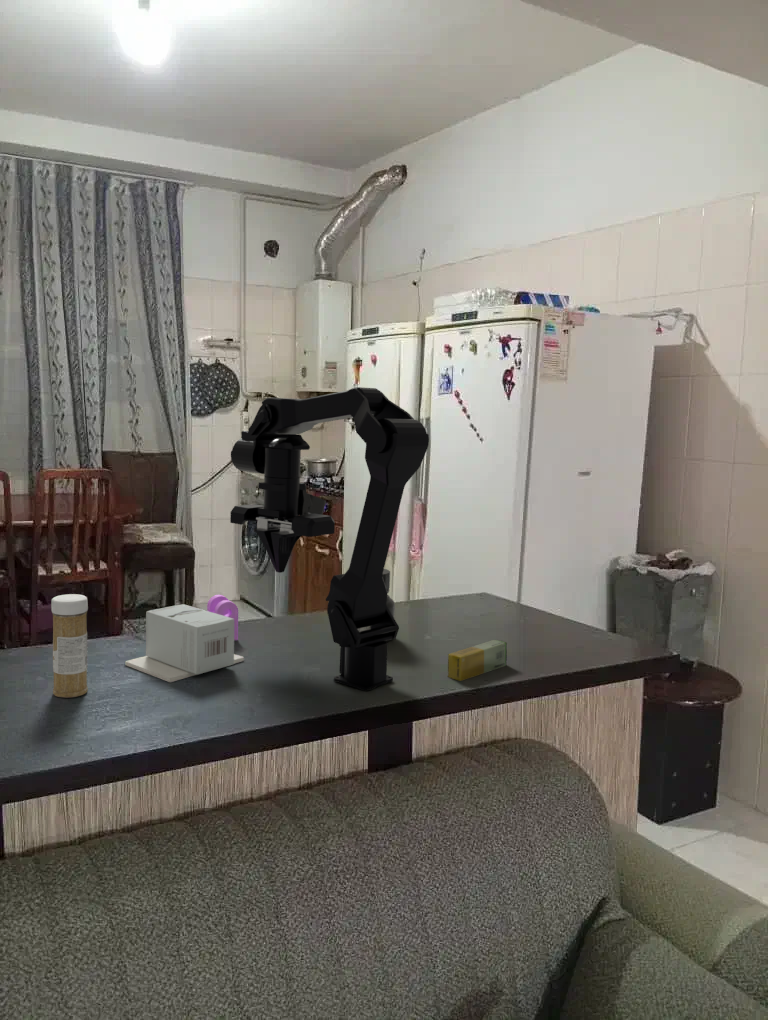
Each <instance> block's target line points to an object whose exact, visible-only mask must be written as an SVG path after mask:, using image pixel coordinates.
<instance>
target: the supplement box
mask: <svg viewBox="0 0 768 1020" xmlns="http://www.w3.org/2000/svg"><path fill="white" fill-rule="evenodd" d="M145 621H146V622H145V629H146V630H145V656H147V657H150V658H153V659H156V660H158V661H161V662H164V663H166V664H169V665H172V666H174V667H177V668H180V669H182V670H185V671H188V672H191V673H193V674H196V675H195V676H198V675H201V674H203V673H204V674H205V673H208V672H211V671H215V670H218V669H222V668H225V667H229V666H231V665H232V666H234V654H235V640H234V619H233V618H230V617H226V616H223V615H219V614H216V613H212V612H209V611H207V610H205V609H202V608H198V607H195V606H191V605H187V604H185V603H183V604H175V605H172V606H165V607H162V608H156V609H155V608H154V609H150V610H147V611H146V614H145Z"/></svg>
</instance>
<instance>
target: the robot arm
mask: <svg viewBox="0 0 768 1020" xmlns="http://www.w3.org/2000/svg"><path fill="white" fill-rule="evenodd" d="M351 418H352V419H353V423H354V427H355V428H354V429H355V432H356V434H357V435H358V436H359V437H360V438H361V440H362V441H363V442H364V443H365V452H364V459H365V463H366V466H367V470H368V473H369V476H370V478H369V484H368V488H367V492H366V495H365V500H364V504H363V508H362V513H361V516H360V521H359V526H358V530H357V532H356V538H355V542H354V546H353V552H352V555H351V559H350V564H349V567H348V569H347V570H346V572H345V573H342V574H336V575H335V574H334V575H333V576H332V577H331V580H330V587H329V593H328V594H327V597H326V598H325V601H326V602H328V603H327V609H326V610H327V611H326V613H327V616H328V621H329V626H330V630H331V631H330V632H331V635H332V636H331V637H332V639H333V640H332V641H333V643H334V644H338V646H339V647H340V648H339V675H336V676H333V681H334V682H337V683H341V684H343V685H347V686H349V687H353V688H357V689H358V690H362V691H370V690H372V689H375V688H377V687H381V686H383V685H385V684H388V683H390V682H393V681H394V677H393V676H390V675H388V674H387V673H388V650H389V649H388V647H389V641H387V642H384V641H386V640H390V639H392V640H395V639H396V638H397V635H398V632H399V629H400V627H399V624H398V623H397V621H396V619H395V617H394V618H393V616H392V614H391V612H390V611H389V609H388V607H387V606H386V602H387V595H388V593H387V589H386V586H385V583H384V580H383V577H382V575H383V570H384V569H385V567H386V562H387V557H388V553H389V550H390V545H391V541H392V537H393V534H394V530H395V525H396V521H397V517H398V515H399V510H400V506H401V504H402V503H401V502H402V497H403V495H404V489H405V488H406V484H407V483H408V482H409V481H410V479H411V478H412V477H413V476H414V474H416V472H417V471H418V470H419V469H420V468H421V465H422V462H423V460H424V458H425V455H426V453H427V450H428V447H429V442H430V437H429V434H428V432H427V430H426V427H425V426H424V424H422V422H420V421H419V420H418V419H415V418H414V417H413V416H412V415H411V414H410V413H409V412H408V411H407V410H405V409H403V408H402V407H400V406H399V405H397V404H396V403H394V402H392V401H391V400H390V399H389V398H388V397H387V396H386V395H385V394H384V393H383V392H382V391H381V390H379V389H378V388H375V387H363V386H362V387H360V386H357V387H356V386H355V387H351V388H350V389H348V390H342V391H338V392H337V391H336V392H333V393H332V392H331V393H327V394H322V395H317V396H312V397H307V398H292V397H291V398H288V397H266V398H264V399H263V400H262V402H261V406H260V407H259V409H258V411H257V413H256V414H255V417H254V418H253V420H252V423H251V424H250V426H249V427H248V431H245V430H244V431H241V434H240V436H241V437H240V439H237V441H236V442H235V443H234V444H233V446H232V450H231V451H230V459H231V463H232V464H233V466H234V468H236V469H237V470H238V471H241V472H245V473H247V472H248V473H255V474H261V475H264V476H263V482H262V481H261V482H258V490H263V505H262V504H257V503H251V504H241V505H235V506H233V508H232V509H231V511H230V521H229V522H230V523H231V524H236V525H240V526H241V525H244V524H245V523H246V522H250V521H254V522H257V523H256V528H253V533H256V534H257V536H258V537H259V539H260V541H261V543H262V545H263V547H264V549H265V551H266V552H267V555H268V557H269V559H270V562H271V564H272V567H273V568H274V571H275V572H276V573H279V574H280V573H281V574H282V573H284V572H285V570H286V567H287V564H288V562H289V559H290V557H291V554H292V552H293V549H294V547H295V545H296V543H297V542H298V541H299V539H300V538H302V537H307V538H313V537H320V536H327V535H333V534H334V535H335V526H336V525H335V523H336V522H335V519H334V518H333V517H332V515H326V514H324V510H325V507H326V502H327V501H326V500H325V499H323V498H320V497H318V496H315V495H314V494H310V493H308V492H307V485H306V483H303V482H301V456H302V455H301V454H302V453H301V452H302V451H309V450H310V448H311V447H310V444H309V443H308V442H307V441H306V440H305V439H304V438H303V437H302V434H303V433H305V432H308V431H311V430H312V429H313V428H314V426H316V425H318V424H321V423H328V422H334V421H335V422H336V421H339V420H340V421H341V420H345V419H346V420H347V419H351ZM368 626H370V628H371V629H369V630H364V631H360V632H359V631H358V629H359V628H364V627H368ZM390 641H391V640H390Z"/></svg>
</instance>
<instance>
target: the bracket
mask: <svg viewBox="0 0 768 1020" xmlns="http://www.w3.org/2000/svg"><path fill="white" fill-rule="evenodd" d="M206 604H207V605H206V607H207V610H206V611H209V612H212V613H216V614H219V615H223V616H226V617H230V618H233V619H234V641H238V640H239V608H238V606H237V604H236V603H234V602H233V601H231V600H229V599H228V598H227V596H224V595H223V594H215V595H213V596H211V597H210V598H209V599H208V601H207V603H206Z"/></svg>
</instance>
